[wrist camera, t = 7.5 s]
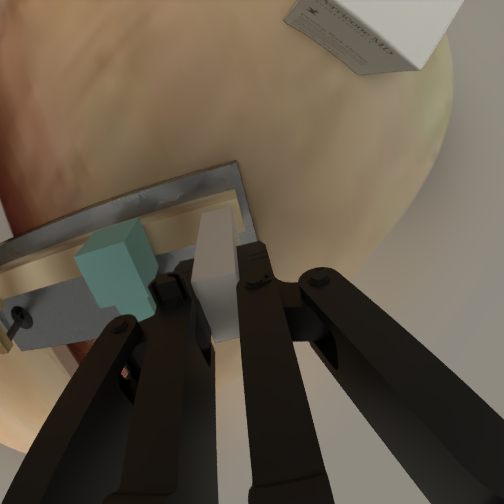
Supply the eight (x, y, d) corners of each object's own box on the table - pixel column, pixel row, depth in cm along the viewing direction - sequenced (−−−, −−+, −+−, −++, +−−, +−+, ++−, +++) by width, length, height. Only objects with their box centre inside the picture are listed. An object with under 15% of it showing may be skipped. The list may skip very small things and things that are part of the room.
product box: (279, 21, 16) (310, -16, 9) (329, -39, 14) (374, -85, 7) (358, 77, 18) (421, 74, 11) (401, 17, 16) (469, -2, 9)
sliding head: (138, 296, 22) (122, 345, 17) (104, 219, 19) (73, 257, 14) (177, 286, 22) (169, 336, 17) (146, 205, 19) (123, 241, 14)
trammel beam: (7, 324, 22) (-17, 361, 18) (-25, 269, 20) (-56, 302, 15) (255, 264, 22) (264, 309, 17) (232, 181, 19) (236, 208, 15)
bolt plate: (25, 344, 25) (21, 351, 24) (-27, 255, 20) (-34, 261, 19) (270, 292, 24) (272, 300, 23) (236, 160, 20) (236, 163, 19)
